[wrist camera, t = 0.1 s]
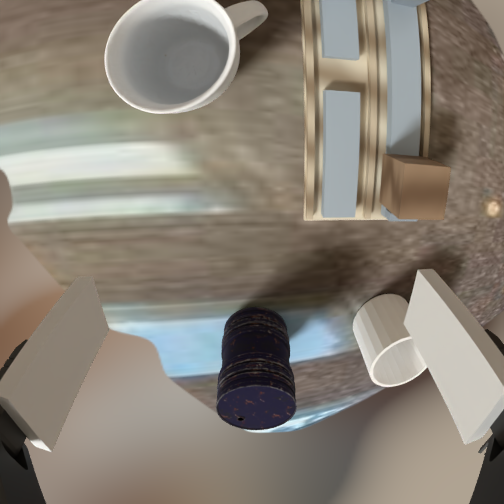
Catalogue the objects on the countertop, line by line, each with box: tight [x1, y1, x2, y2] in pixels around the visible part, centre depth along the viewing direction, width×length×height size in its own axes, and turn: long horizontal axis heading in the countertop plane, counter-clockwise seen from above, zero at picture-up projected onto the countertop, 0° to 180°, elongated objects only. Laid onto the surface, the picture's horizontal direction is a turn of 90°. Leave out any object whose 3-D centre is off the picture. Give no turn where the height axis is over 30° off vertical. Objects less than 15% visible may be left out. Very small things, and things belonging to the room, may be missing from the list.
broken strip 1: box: [319, 0, 359, 61], centre depth 23 cm, size 11×4×11 cm, turn 2°
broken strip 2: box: [321, 90, 360, 218], centre depth 35 cm, size 15×4×1 cm, turn 2°
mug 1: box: [105, 0, 268, 114], centre depth 25 cm, size 15×11×13 cm
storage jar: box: [216, 307, 296, 430], centre depth 42 cm, size 10×10×15 cm
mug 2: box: [353, 294, 427, 387], centre depth 43 cm, size 13×10×10 cm
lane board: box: [300, 0, 431, 221], centre depth 32 cm, size 34×16×2 cm, turn 2°
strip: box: [381, 0, 429, 221], centre depth 27 cm, size 30×4×11 cm, turn 2°
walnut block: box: [379, 153, 451, 220], centre depth 32 cm, size 6×6×6 cm
